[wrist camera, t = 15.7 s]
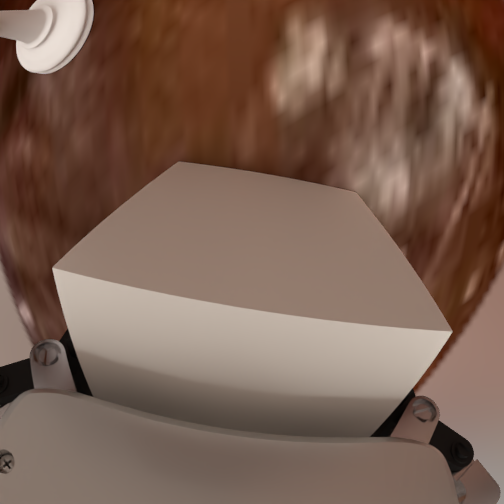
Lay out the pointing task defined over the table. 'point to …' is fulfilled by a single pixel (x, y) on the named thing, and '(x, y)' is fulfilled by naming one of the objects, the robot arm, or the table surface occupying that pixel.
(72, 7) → the chess piece
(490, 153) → the table surface
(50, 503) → the robot arm
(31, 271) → the table surface
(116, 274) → the white block
